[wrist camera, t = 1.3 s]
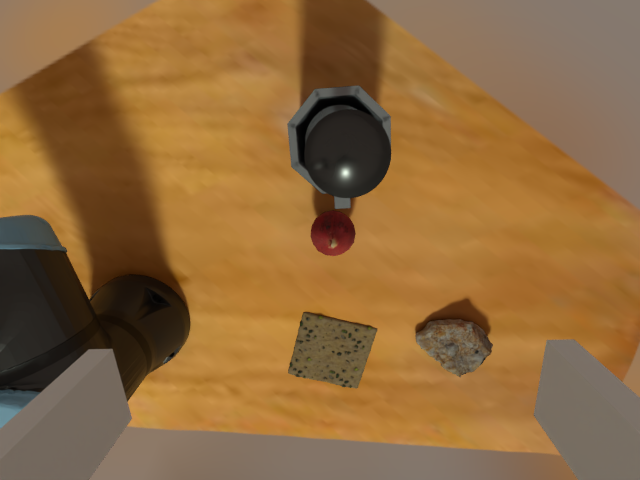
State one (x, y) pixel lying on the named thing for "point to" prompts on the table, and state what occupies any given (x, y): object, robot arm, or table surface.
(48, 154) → the table surface
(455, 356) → the rock
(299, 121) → the press carafe
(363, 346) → the grey porous flat square
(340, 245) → the onion
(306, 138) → the plunger
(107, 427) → the robot arm
